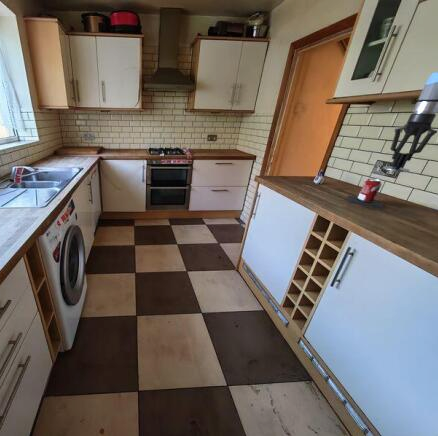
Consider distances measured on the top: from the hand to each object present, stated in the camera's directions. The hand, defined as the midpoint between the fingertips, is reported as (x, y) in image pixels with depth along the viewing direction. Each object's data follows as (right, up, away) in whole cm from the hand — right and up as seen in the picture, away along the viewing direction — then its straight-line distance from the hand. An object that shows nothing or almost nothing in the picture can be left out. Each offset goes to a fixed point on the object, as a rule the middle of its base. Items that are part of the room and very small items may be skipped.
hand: (396, 166), depth 109 cm
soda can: (+1, -15, +17) cm, 23 cm away
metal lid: (0, -1, +1) cm, 1 cm away
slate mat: (+1, -16, +17) cm, 23 cm away
